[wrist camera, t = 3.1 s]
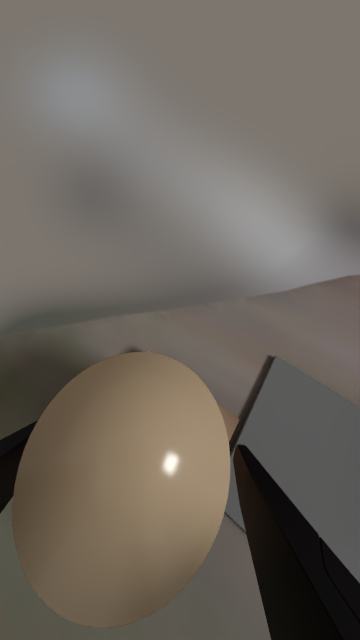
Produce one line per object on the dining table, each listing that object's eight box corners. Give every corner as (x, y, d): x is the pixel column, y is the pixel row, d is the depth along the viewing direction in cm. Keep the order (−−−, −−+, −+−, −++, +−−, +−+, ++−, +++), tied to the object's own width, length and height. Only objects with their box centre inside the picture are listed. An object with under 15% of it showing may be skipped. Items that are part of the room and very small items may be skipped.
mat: (387, 667, 10) (398, 678, 9) (210, 496, 13) (211, 498, 13) (393, 432, 16) (400, 432, 16) (273, 357, 20) (276, 355, 19)
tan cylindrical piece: (156, 507, 11) (129, 750, 3) (99, 444, 13) (-34, 476, 4) (202, 426, 14) (262, 423, 5) (150, 381, 15) (130, 324, 7)
